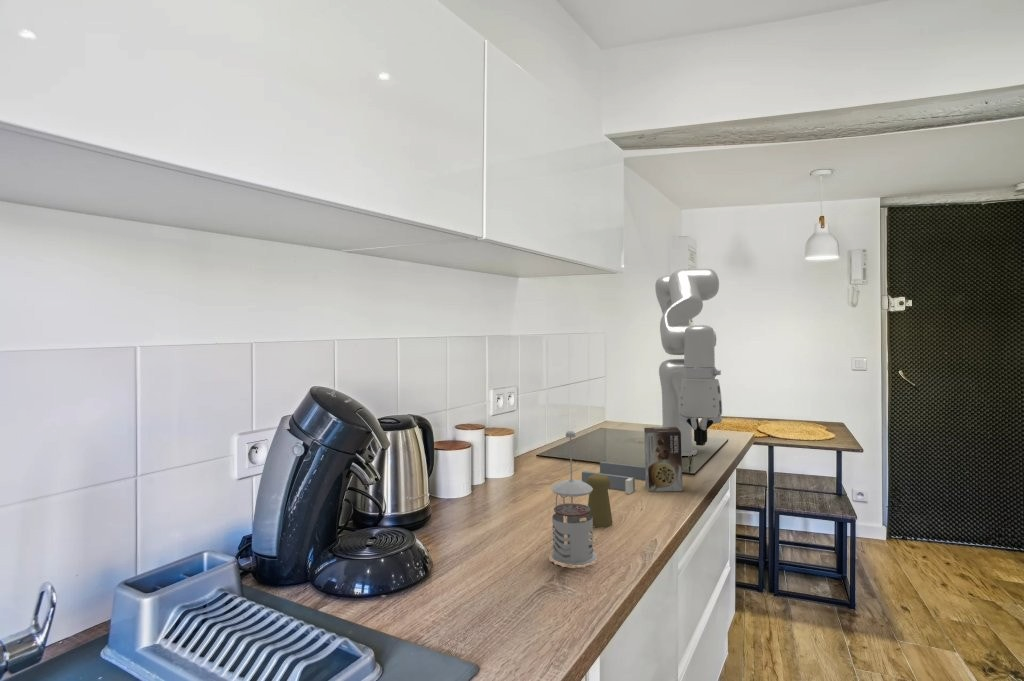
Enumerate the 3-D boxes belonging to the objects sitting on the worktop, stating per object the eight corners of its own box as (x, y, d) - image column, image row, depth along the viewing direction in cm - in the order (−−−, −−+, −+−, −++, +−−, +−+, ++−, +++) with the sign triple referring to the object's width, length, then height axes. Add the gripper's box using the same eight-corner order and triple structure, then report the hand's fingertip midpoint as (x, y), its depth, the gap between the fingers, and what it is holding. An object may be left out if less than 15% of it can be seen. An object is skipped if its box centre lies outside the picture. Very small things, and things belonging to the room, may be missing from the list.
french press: (558, 571, 111) (555, 437, 110) (538, 548, 123) (535, 426, 122) (607, 564, 114) (604, 433, 113) (582, 542, 125) (580, 423, 124)
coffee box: (678, 485, 165) (677, 426, 165) (683, 492, 159) (682, 431, 158) (644, 485, 166) (643, 426, 166) (647, 491, 160) (646, 431, 159)
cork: (616, 520, 138) (615, 473, 137) (606, 529, 133) (605, 479, 132) (592, 517, 141) (591, 470, 141) (581, 525, 136) (580, 476, 135)
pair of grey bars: (604, 471, 181) (604, 459, 181) (653, 477, 173) (653, 465, 173) (578, 486, 166) (577, 474, 166) (629, 494, 158) (629, 480, 158)
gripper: (732, 373, 155) (734, 444, 155) (675, 372, 163) (676, 440, 163) (726, 375, 149) (727, 449, 149) (666, 374, 157) (667, 444, 157)
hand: (700, 444), depth 156 cm, fingers closed
